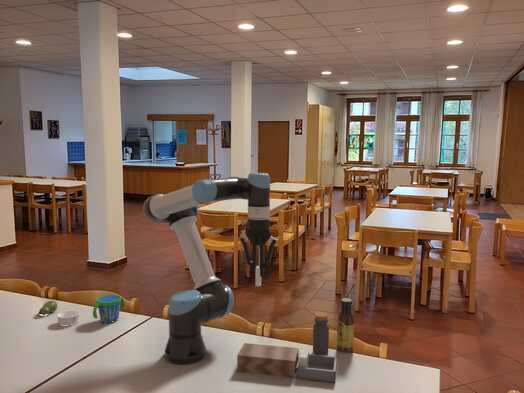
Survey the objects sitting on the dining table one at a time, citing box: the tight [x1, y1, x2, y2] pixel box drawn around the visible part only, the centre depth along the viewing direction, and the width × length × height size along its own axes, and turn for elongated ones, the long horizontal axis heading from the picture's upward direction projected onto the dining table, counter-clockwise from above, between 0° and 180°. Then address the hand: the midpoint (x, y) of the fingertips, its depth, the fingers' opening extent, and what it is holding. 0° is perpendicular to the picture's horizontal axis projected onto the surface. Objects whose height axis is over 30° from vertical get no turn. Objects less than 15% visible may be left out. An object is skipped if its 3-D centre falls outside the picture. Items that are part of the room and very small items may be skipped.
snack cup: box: [92, 294, 126, 323], centre depth 203 cm, size 16×10×10 cm
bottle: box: [312, 311, 330, 356], centre depth 173 cm, size 6×6×15 cm
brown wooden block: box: [236, 342, 300, 379], centre depth 161 cm, size 20×10×6 cm, turn 78°
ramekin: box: [56, 309, 80, 325], centre depth 200 cm, size 9×9×4 cm
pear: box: [38, 300, 58, 315], centre depth 212 cm, size 6×5×10 cm
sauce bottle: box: [336, 297, 355, 353], centre depth 176 cm, size 6×6×20 cm
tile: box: [299, 349, 310, 368], centre depth 158 cm, size 6×6×2 cm
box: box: [295, 352, 338, 384], centre depth 158 cm, size 13×11×4 cm
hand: (258, 285), depth 160 cm, fingers closed
